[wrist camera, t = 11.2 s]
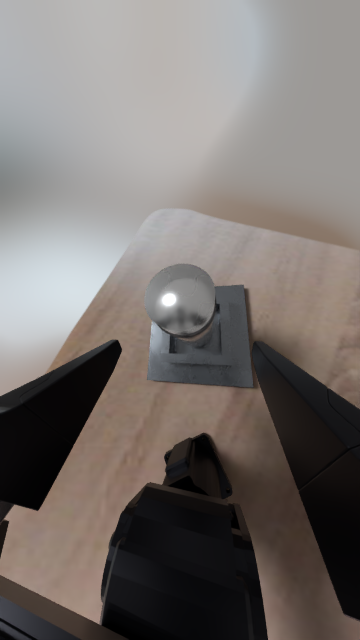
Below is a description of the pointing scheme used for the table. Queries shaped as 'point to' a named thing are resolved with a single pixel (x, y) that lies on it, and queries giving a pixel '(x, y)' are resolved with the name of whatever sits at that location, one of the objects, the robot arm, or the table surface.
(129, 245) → the table surface
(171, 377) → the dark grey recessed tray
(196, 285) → the silver banded cylinder
